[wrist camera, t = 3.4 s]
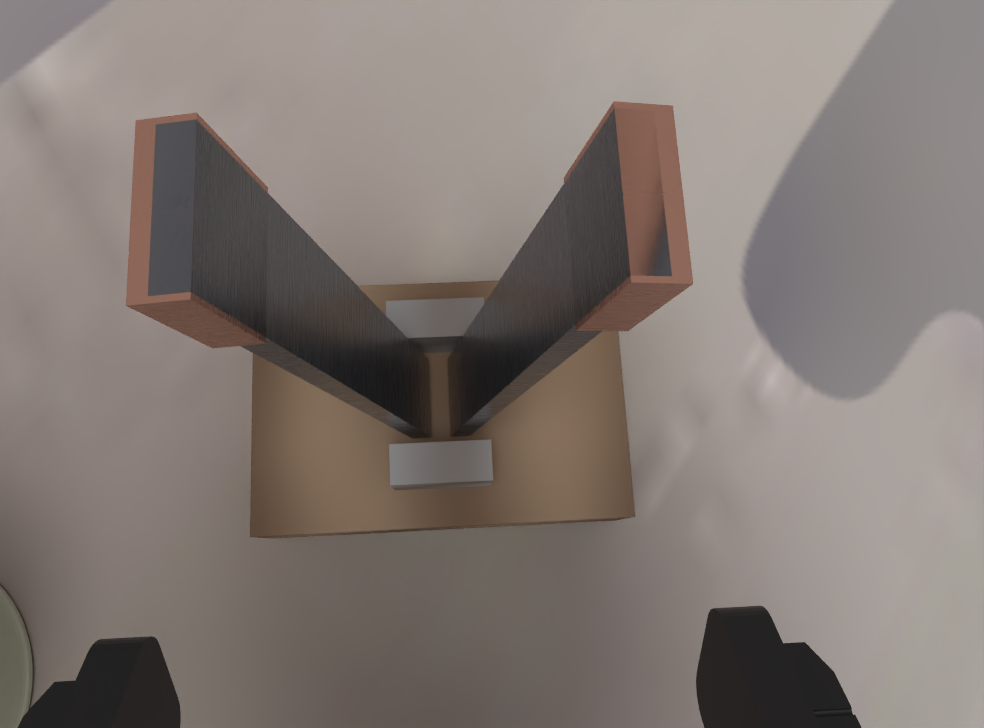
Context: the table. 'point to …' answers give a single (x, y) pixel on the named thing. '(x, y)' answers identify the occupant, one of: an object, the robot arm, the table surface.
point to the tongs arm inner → (258, 277)
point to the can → (13, 664)
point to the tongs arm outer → (581, 265)
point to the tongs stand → (441, 441)
